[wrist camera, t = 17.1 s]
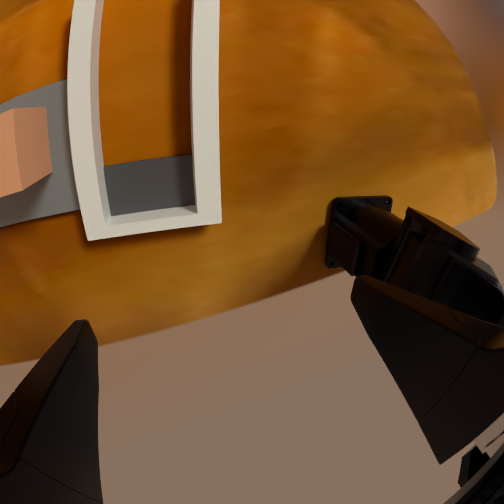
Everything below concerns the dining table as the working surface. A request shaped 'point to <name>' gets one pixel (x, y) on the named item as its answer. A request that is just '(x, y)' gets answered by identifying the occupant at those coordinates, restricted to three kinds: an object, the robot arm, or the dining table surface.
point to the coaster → (62, 178)
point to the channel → (151, 170)
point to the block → (23, 148)
